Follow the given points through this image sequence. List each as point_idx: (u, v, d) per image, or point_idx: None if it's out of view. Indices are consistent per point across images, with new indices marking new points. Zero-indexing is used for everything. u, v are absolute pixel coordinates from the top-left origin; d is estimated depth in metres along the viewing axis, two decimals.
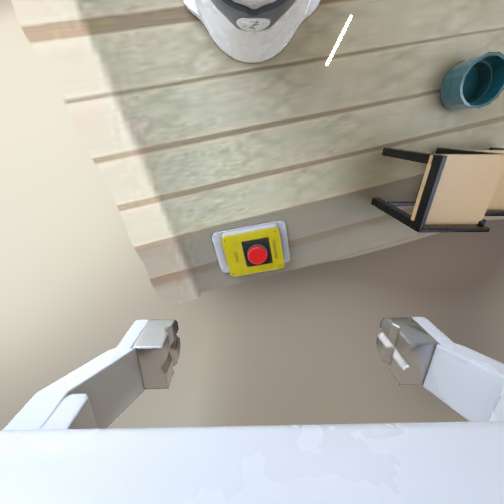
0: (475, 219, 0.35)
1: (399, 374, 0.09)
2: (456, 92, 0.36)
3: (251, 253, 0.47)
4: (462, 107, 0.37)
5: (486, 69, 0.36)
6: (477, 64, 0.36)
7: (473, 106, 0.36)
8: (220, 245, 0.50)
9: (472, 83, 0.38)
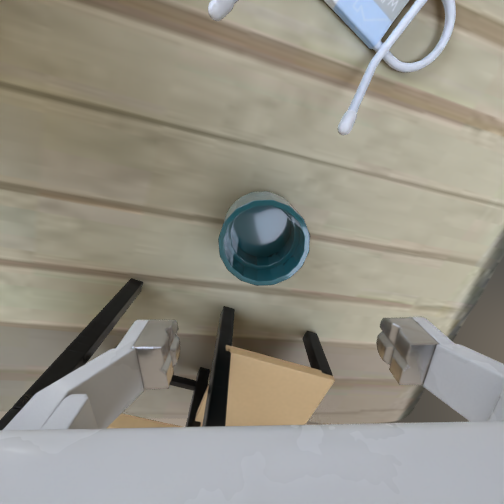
0: None
1: (399, 374, 0.09)
2: None
3: None
4: None
5: (290, 221, 0.20)
6: None
7: (245, 279, 0.19)
8: None
9: (278, 232, 0.22)
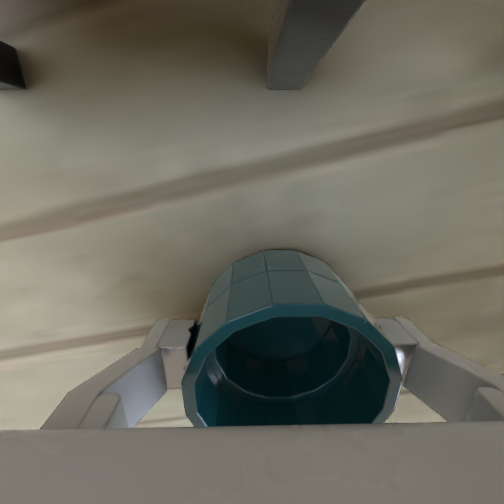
0: None
1: None
2: None
3: None
4: (324, 286, 0.07)
5: (237, 373, 0.11)
6: (266, 377, 0.11)
7: (310, 310, 0.06)
8: None
9: None
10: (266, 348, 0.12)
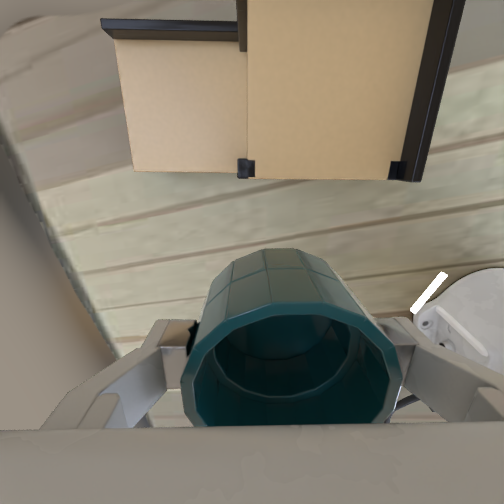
0: None
1: None
2: None
3: None
4: (324, 284, 0.07)
5: (236, 372, 0.10)
6: (266, 376, 0.11)
7: (310, 308, 0.06)
8: None
9: None
10: (266, 347, 0.12)
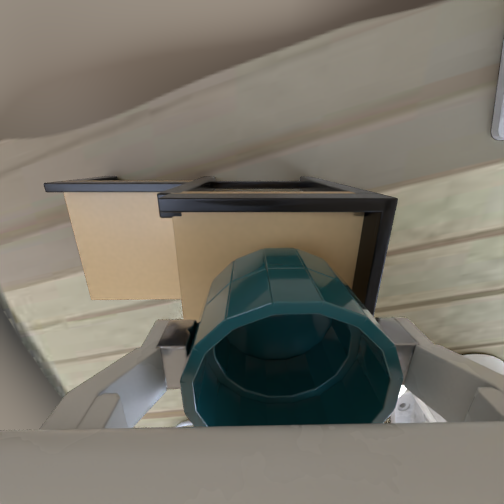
0: (194, 220, 0.12)
1: None
2: None
3: None
4: (324, 284, 0.07)
5: (237, 372, 0.10)
6: (266, 376, 0.11)
7: (310, 308, 0.06)
8: None
9: None
10: (266, 347, 0.12)
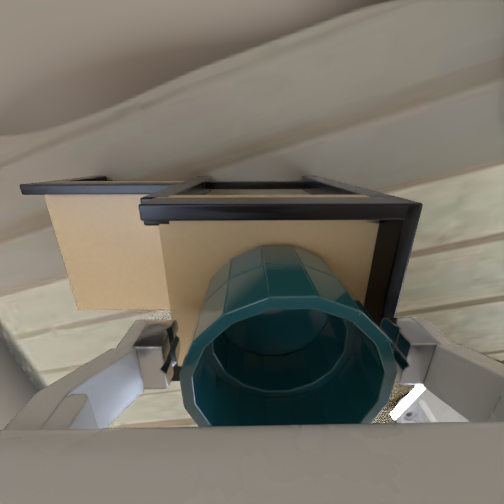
0: (183, 228, 0.10)
1: (399, 374, 0.09)
2: None
3: None
4: (320, 280, 0.08)
5: (235, 367, 0.11)
6: (264, 371, 0.11)
7: (306, 303, 0.06)
8: None
9: None
10: (264, 343, 0.12)
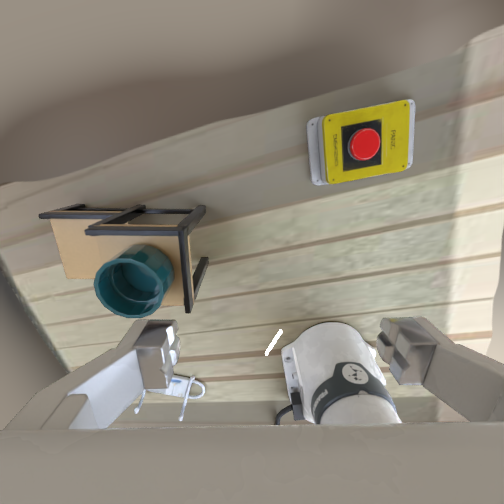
0: (105, 237, 0.27)
1: (399, 374, 0.09)
2: (160, 275, 0.24)
3: (374, 149, 0.32)
4: (139, 255, 0.24)
5: (126, 292, 0.27)
6: (140, 295, 0.28)
7: (127, 260, 0.23)
8: None
9: (132, 274, 0.28)
10: (143, 286, 0.28)
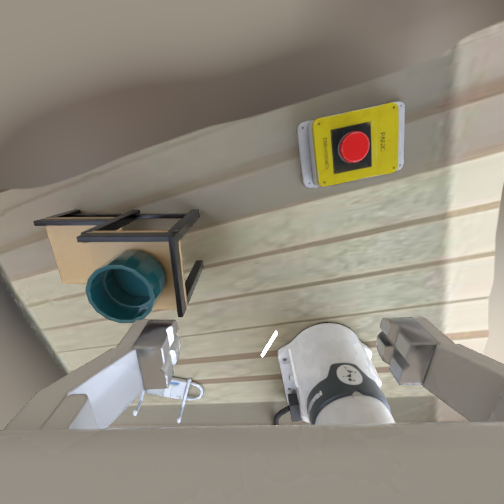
0: (98, 243, 0.27)
1: (399, 374, 0.09)
2: (151, 280, 0.25)
3: (363, 151, 0.32)
4: (130, 261, 0.24)
5: (118, 297, 0.27)
6: (133, 300, 0.28)
7: (117, 267, 0.23)
8: None
9: (124, 279, 0.28)
10: (136, 290, 0.29)
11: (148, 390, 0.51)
